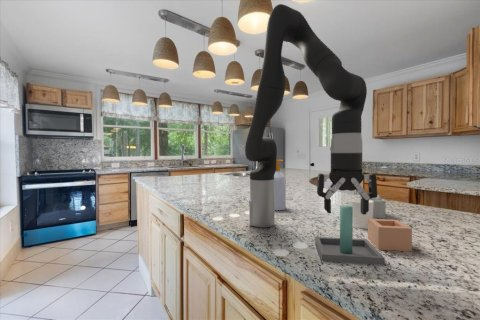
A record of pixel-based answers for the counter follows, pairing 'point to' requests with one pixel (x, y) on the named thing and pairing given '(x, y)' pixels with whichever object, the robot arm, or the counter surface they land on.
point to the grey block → (377, 206)
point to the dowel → (346, 229)
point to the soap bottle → (279, 189)
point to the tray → (360, 254)
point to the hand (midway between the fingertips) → (345, 213)
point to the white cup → (358, 217)
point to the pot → (390, 234)
